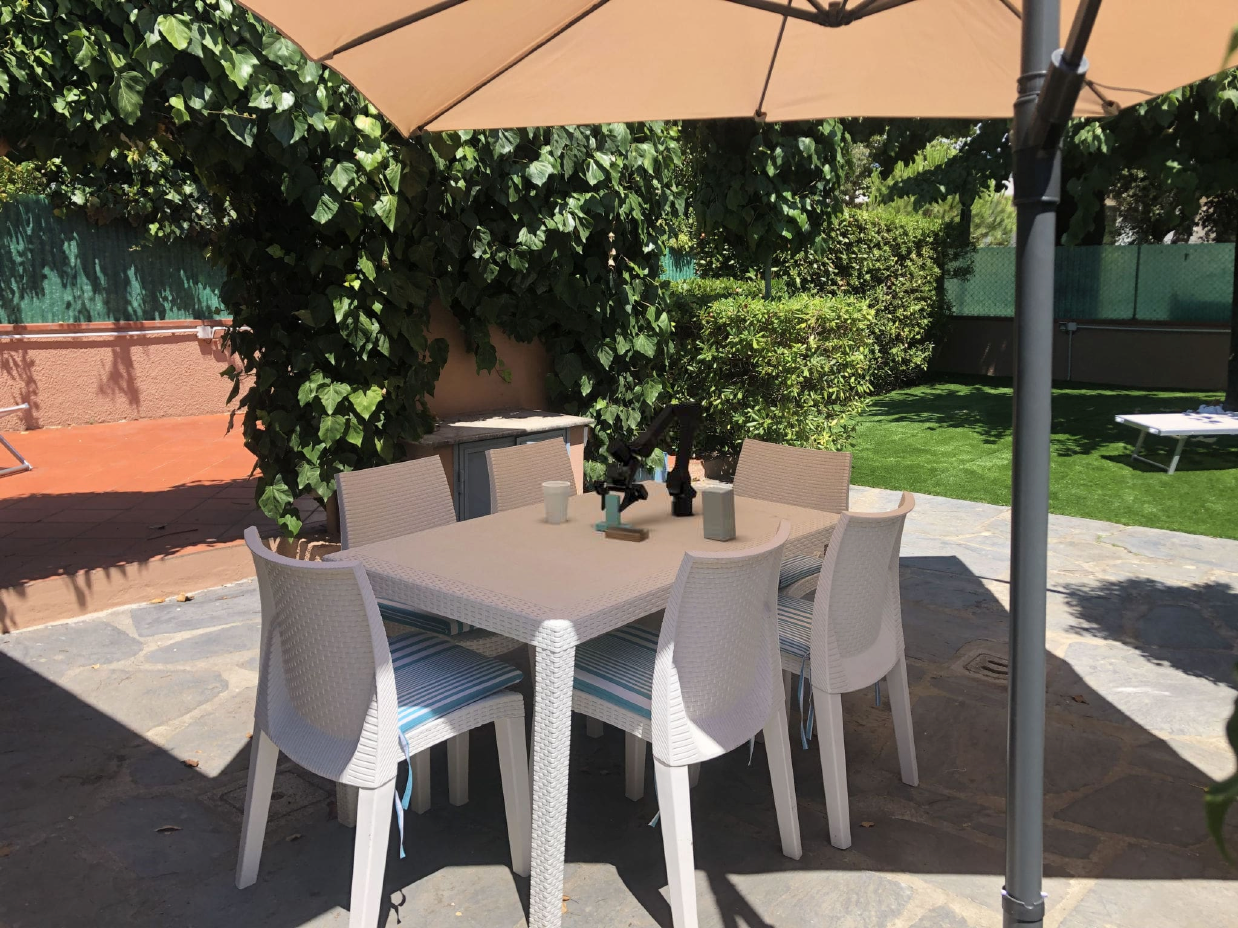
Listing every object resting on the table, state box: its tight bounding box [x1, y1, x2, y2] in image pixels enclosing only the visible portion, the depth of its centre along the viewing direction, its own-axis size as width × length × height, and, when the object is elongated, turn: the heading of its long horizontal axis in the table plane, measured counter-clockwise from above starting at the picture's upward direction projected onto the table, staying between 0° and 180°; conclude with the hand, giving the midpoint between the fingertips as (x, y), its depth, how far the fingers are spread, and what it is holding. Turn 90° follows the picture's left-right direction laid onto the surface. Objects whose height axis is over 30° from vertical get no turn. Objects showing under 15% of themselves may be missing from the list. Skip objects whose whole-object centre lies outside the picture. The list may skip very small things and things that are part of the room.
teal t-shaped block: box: [594, 493, 635, 531], centre depth 317 cm, size 4×12×12 cm, turn 60°
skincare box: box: [701, 486, 737, 542], centre depth 306 cm, size 8×7×16 cm
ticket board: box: [604, 525, 650, 543], centre depth 309 cm, size 6×13×4 cm, turn 60°
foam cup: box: [541, 480, 571, 525], centre depth 332 cm, size 10×9×13 cm
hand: (610, 511), depth 315 cm, fingers open, 6 cm apart
